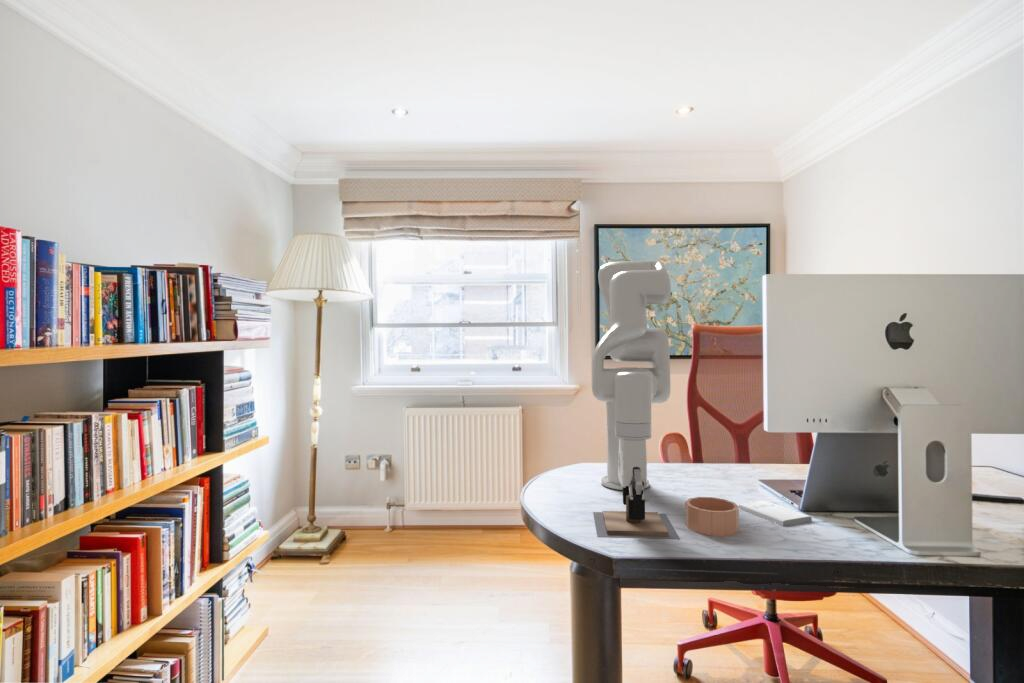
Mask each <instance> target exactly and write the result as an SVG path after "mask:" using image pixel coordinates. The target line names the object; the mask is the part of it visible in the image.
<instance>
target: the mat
mask: <svg viewBox="0 0 1024 683" xmlns="http://www.w3.org/2000/svg"><path fill="white" fill-rule="evenodd" d="M658 514H659V516H660V518H661V520H662V521H663V523H664V525H665V527H666V529H667V531H668V536H649V535H614V534H607V532H606V528H605V523H604V519H603V514H602V512H601V511H596V512H595V511H593V512H592V515H593V520H594V524H595V529H596V535H597V536H596V537H597V538H612V539H613V538H616V539H617V538H619V539H621V538H622V539H648V540H649V539H650V540H651V539H653V540H655V539H657V540H681V538H680V536H679V533H677V532H676V530H675V528H674V526H673V524H672V522H671V521H670V519H669V517H668V516H667V514H666V513H658Z"/></svg>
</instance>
